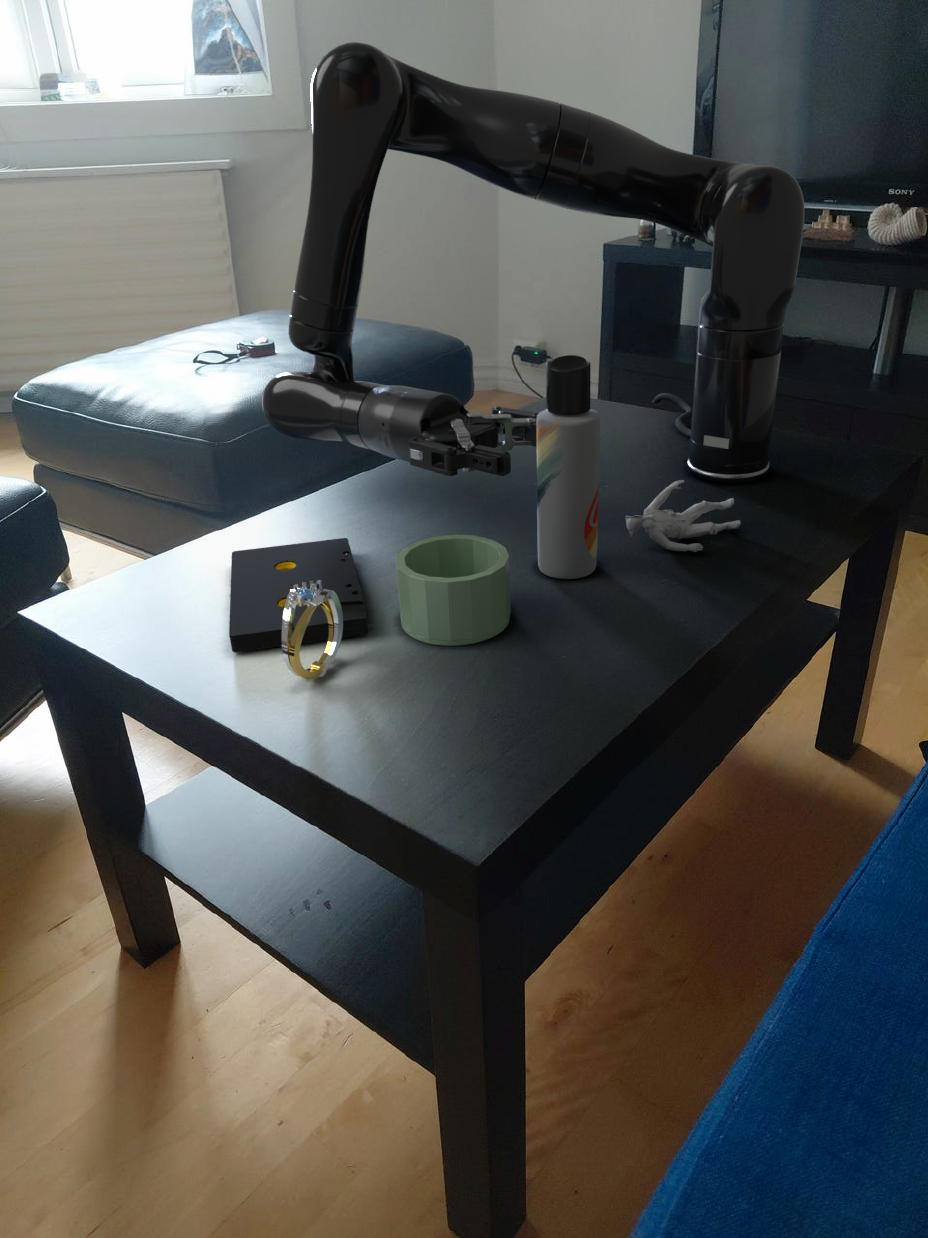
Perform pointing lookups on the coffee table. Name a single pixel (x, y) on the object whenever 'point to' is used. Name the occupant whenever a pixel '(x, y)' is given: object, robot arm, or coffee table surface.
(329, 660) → the ring
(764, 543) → the coffee table surface
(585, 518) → the lotion bottle
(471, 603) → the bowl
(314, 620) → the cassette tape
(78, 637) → the coffee table surface
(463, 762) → the coffee table surface
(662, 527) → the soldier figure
